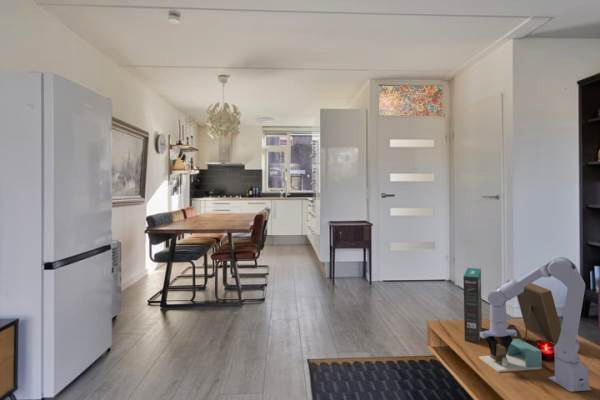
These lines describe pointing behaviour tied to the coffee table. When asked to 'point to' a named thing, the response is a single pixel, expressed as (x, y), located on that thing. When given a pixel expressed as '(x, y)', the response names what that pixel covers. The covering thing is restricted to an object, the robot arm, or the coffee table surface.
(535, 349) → the cover
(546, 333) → the photo frame
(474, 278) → the cake mix box
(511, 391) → the coffee table surface
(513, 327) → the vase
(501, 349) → the block
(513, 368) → the base plate
